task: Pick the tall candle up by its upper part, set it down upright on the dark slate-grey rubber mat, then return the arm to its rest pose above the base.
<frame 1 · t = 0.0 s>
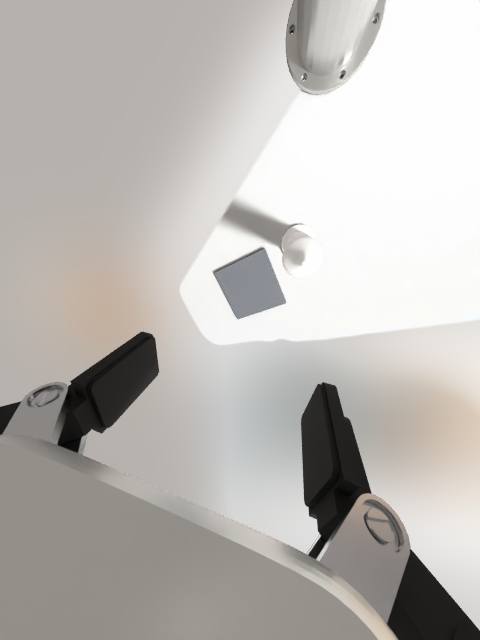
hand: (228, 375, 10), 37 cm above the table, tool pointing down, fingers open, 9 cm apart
candle: (298, 242, 40), on the table
mat: (250, 287, 47), on the table
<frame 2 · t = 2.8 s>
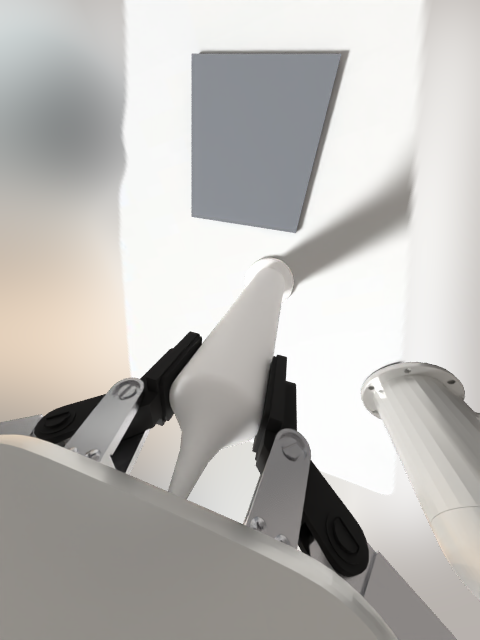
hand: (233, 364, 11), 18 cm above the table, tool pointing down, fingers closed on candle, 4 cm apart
candle: (268, 282, 27), on the table, touching gripper
mat: (251, 155, 21), on the table
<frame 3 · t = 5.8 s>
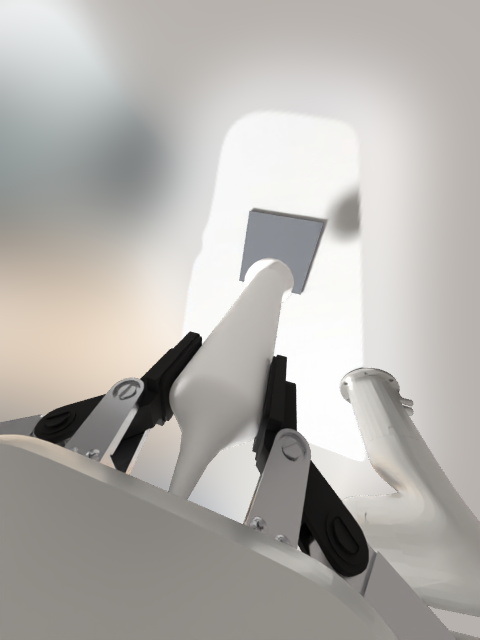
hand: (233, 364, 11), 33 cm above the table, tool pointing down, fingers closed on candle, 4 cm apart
candle: (268, 282, 27), point 14 cm above the table, touching gripper
mat: (276, 254, 38), on the table
when the fingers open (20 cm above the table, at t = 8.6 s): candle drops 1 cm, resting on mat.
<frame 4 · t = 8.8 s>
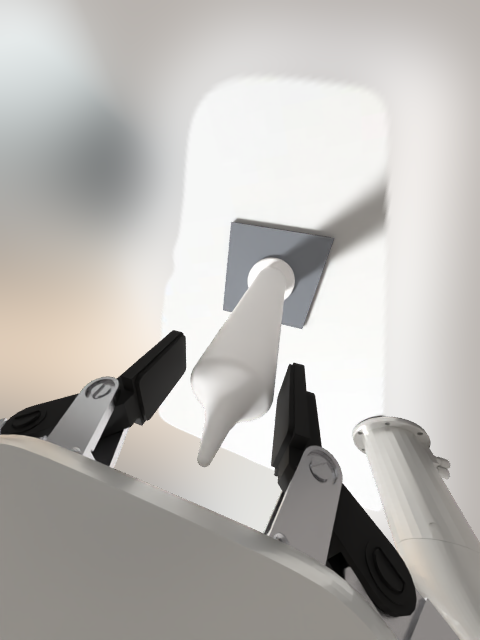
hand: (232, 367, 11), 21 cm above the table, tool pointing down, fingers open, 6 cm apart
candle: (270, 280, 28), point 1 cm above the table, touching mat
mat: (270, 278, 29), on the table
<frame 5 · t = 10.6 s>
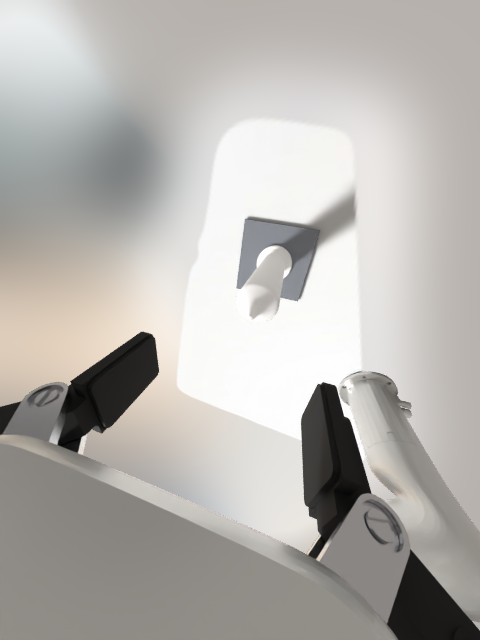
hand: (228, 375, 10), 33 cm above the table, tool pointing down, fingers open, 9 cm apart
candle: (274, 263, 38), point 1 cm above the table, touching mat
mat: (273, 262, 38), on the table
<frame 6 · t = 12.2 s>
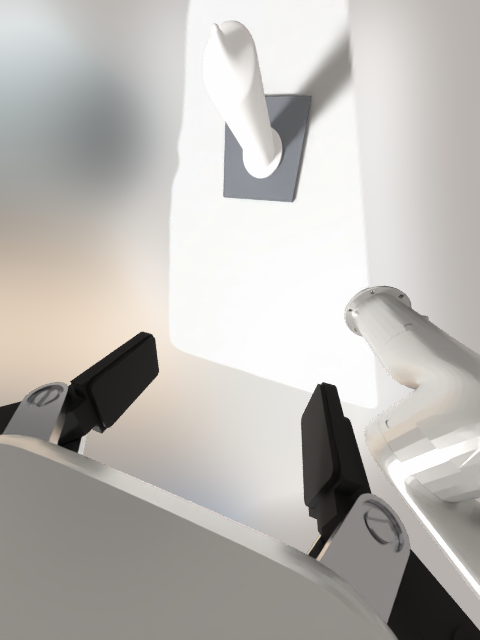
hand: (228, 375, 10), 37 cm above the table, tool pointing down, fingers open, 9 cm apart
candle: (262, 154, 33), point 1 cm above the table, touching mat
mat: (261, 154, 34), on the table
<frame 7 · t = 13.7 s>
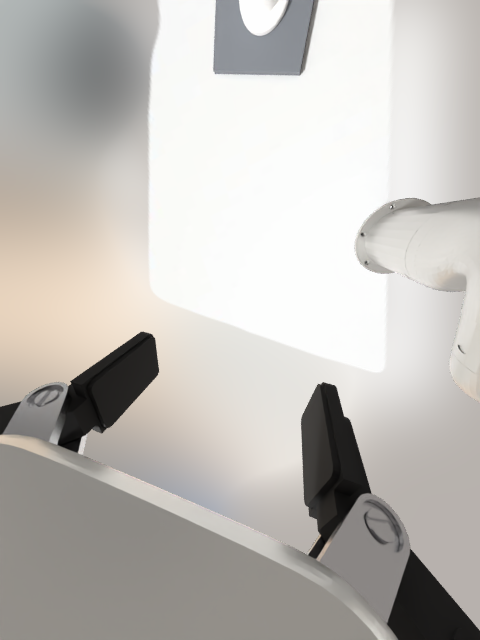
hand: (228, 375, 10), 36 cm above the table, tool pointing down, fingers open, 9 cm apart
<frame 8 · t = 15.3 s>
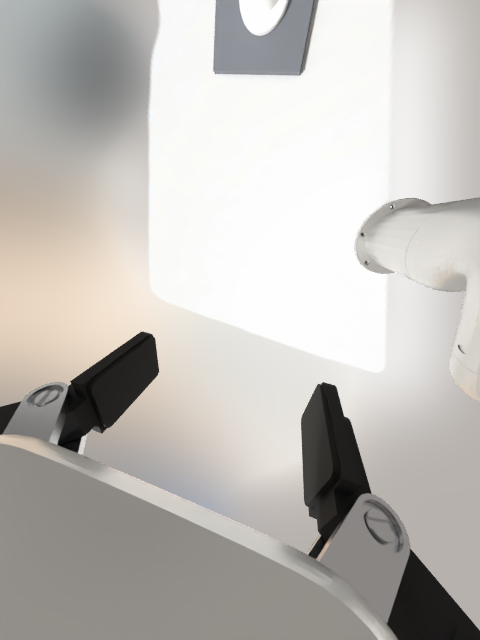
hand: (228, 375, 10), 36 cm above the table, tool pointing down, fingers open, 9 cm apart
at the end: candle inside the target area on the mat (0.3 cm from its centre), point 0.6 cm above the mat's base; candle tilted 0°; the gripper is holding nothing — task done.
